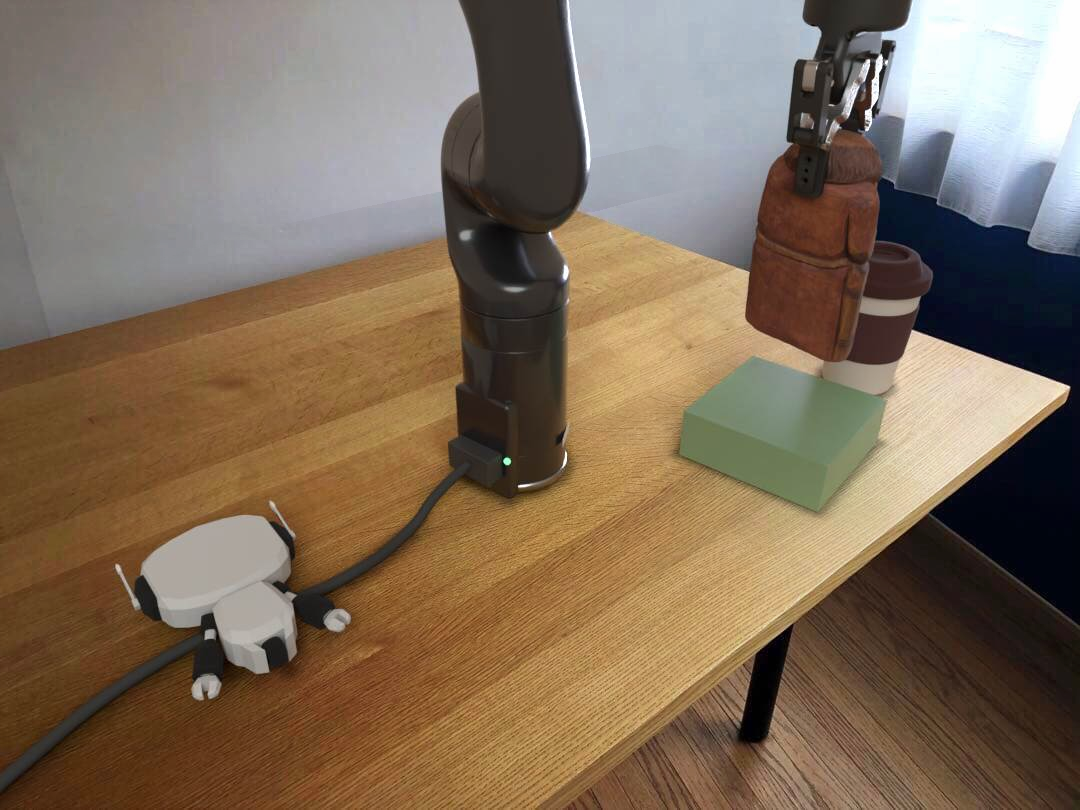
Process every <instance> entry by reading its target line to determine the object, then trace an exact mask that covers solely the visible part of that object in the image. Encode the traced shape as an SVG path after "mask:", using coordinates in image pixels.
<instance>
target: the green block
mask: <svg viewBox="0 0 1080 810" xmlns="http://www.w3.org/2000/svg"><path fill="white" fill-rule="evenodd" d="M887 403H888V399H887V398H885V397H881V396H878V395H872V394H869V393H866V392H863V391H860V390H857V389H854V388H851V387H847V386H844V385H841V384H838V383H835V382H832V381H829V380H826V379H824V378H823V377H820V376H817V375H814V374H811V373H807V372H804V371H802V370H798V369H795V368H792V367H790V366H787V365H784V364H780V363H777V362H774V361H772V360H768V359H765V358H762V357H759V356H756V355H752V356H750V357H749V358H748V359H747V360H746V361H744V362H743V363H742V364H741V365H739V366H738V367H737V368H735V369H734V370H733V371H732V372H731V373H729V374H727V376H726V377H724V378H723V379H722V380H721V381H719V382H718V383H717V384H715V385H714V386H712V388H710V389H709V390H708V391H707V392H705V393H704V394H702V395H701V397H699V398H698V399H697V400H695V401H694V402H693V403H692V404H690V405H689V406H688V407H686V408H684V409H683V414H682V423H681V432H680V442H679V451H678V455H679V456H681V457H684V458H686V459H688V460H691V461H693V462H695V463H697V464H701V465H703V466H705V467H707V468H710V469H712V470H715V471H717V472H720V473H722V474H724V475H727V476H729V477H732V478H734V479H736V480H739V481H741V482H743V483H746V484H748V485H750V486H753V487H755V488H758V489H761V490H762V491H765V492H768V493H769V494H772V495H775V496H777V497H779V498H782V499H785V500H786V501H789V502H791V503H794V504H797V505H799V506H801V507H803V508H806V509H809V510H811V511H813V512H815V513H819V512H820V511H821V509H822V508H823V507H824V506H825V505H826V503H827V502H828V501H829V500H830V498H832V496H833V495H834V494H835V493H836V492H837V490H838V489H839V488H840V487H841V486H842V484H843V483H844V482H845V481H846V480H847V479H848V477H849V476H850V475H851V474H852V473H853V472H854V470H855V469H856V468H857V467H858V466H859V465H860V463H861V462H862V461H863V459H864V458H865V457H866V456H867V455H868V454H869V452H870V451H872V448H873V447H875V445H876V444H877V442H878V439H879V434H880V431H881V427H882V422H883V419H884V415H885V411H886V408H887Z"/></svg>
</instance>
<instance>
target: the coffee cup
mask: <svg viewBox="0 0 1080 810" xmlns="http://www.w3.org/2000/svg"><path fill="white" fill-rule="evenodd" d="M868 262H869V272H868V276H867V280H866V284H865V289H864V292H863V297H862V302H861V307H860V311H859V316H858V322H857V327H856V331H855V336H854V341H853V345H852V348H851V351H850V353H849V355H848V357H847V358H846V359H845V360H844V361H842V362H827V361H824V360H822V361H823V362H822V369H821V370H822V372H821V373H822V378H823V379H826V380H829V381H832V382H835V383H838V384H841V385H844V386H847V387H851V388H854V389H857V390H860V391H863V392H866V393H869V394H872V395H875V396H878V395H880V394H883V393H885V392H887V391H888V390H889V389H890V387H891V386H892V384H893V382H894V381H893V380H894V377H895V374H896V372H897V369H898V366H899V364H900V360H901V359H902V358H903V356H904V354H905V353H906V350H907V346H908V342H909V340H910V337H911V334H912V331H913V329H914V326H915V323H916V319H917V317H918V314H919V310H920V300H921V297H922V296H924V295H925V294H927V293H928V292H929V291H930V290H931V285H932V281H933V278H934V273H933V270H932V269H931V268H930V267H929V266H928V265H927V264H925V263H924V262H923V261H922V260H921V256H920V254H919V253H918V252H917V251H915V250H914V249H913V248H912V247H911V248H910V247H909V246H906V245H904V244H899V243H896V242H891V241H884V240H875V244H874V248H873V252H872V255H871V258H870V260H869V261H868Z"/></svg>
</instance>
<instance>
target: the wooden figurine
mask: <svg viewBox="0 0 1080 810" xmlns="http://www.w3.org/2000/svg"><path fill="white" fill-rule="evenodd" d="M799 147H800V146H796V144H795V143H791V144H790V145H789V146H788V148H787V149H786V150H785V151H784V152H783V154H781V155H780V156H778V157H777V158H776V159H775V160H774V162H773V163H772V164H771V166H770V167H769V169H768V173H767V176H766V180H765V183H764V187H763V190H762V194H761V197H760V203H759V207H758V212H757V218H756V222H757V225H756V226H755V240H754V242H753V244H752V250H751V251H752V252H751V261H750V268H749V273H748V282H747V283H748V284H747V294H746V302H745V314H744V318H745V321H746V322H747V323H748V325H750V326H752V327H753V329H755V330H756V331H758V332H760V333H762V334H764V335H766V336H768V337H770V338H773V339H776V340H779V341H781V342H782V343H785V344H788V345H790V346H792V347H794V348H796V349H798V350H800V351H802V352H803V353H807V354H808V355H810V356H812V357H815V358H817V359H819V360H822V361H827V362H842V361H844V360H845V359H846V358H847V357H848V355H849V353H850V351H851V348H852V345H853V341H854V336H855V331H856V327H857V322H858V316H859V311H860V307H861V302H862V297H863V292H864V289H865V284H866V280H867V276H868V272H869V262H868V261H869V260H870V258H871V255H872V252H873V248H874V244H875V241H876V237H877V233H878V229H877V228H878V227H877V226H878V221H879V220H878V219H879V213H880V195H879V192H878V183H879V182H880V181H881V179H882V177H883V167H884V166H883V163H882V159H881V157H880V154H879V152H878V150H877V147H876V146H875V145H874V143H873V142H872V141H871V140H869V139H868V138H867V137H865V135H864V136H862V135H860V134H858V133H855V132H851V131H847V130H842V129H838V128H837V131H836V134H835V137H834V139H833V143H832V146H831V148H830V149H829V150H831V151H830V157H829V162H828V168H827V173H826V179H825V184H824V190H823V194H822V195H821V196H820V197H818V198H816V199H810V198H805V197H800V196H797V195H795V194H794V192H793V185H794V178H795V172H796V166H797V160H798V154H799Z"/></svg>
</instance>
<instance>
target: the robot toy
mask: <svg viewBox="0 0 1080 810" xmlns="http://www.w3.org/2000/svg"><path fill="white" fill-rule="evenodd" d="M268 502H269V507H270V509H271V510H272V511H273V513H275V515H276V517H277V518H278V520H279V521H280V523H281V524H279V523H278V522H276V521H275V520H270V521H268V520H267V519H266V518H265V517H264V516H261V515H252V514H241V515H234V516H230V517H229V516H228V517H223V518H221V519H217V520H214V521H210V522H207V523H204V524H201V525H198V526H194V527H192V528H191V529H189V530H187V531H185V532H183V533H182V534H179V535H178V536H176V537H174V538H172V539H170V540H169V541H167V542H166V543H164V544H163V545H161V546H159V547H158V548H156V549H155V550H154V551H153V552H151V553H150V554H149V555H148V556H147V557H146V559H145V560H144V561H142V563H141V568H140V574H139V576H138V577H137V578H136V579H135V580H134V590H133V591H132V589H131V588H130V586H129V583H128V581H127V580H126V577H125V575H124V573H123V570H122V567H121V565H120V564H118V563H115V570H116V573H117V574H118V575H119V577H120V579H121V581H122V583H123V585H124V587H125V589H126V591H127V593H128V595H129V597H130V599H131V600H130V601H131V604H132V607H133V608H134V610H135V612H136V611H139V610H141V612H142V614H143V615H145V616H147V617H148V618H149V619H150V620H153V622H161V621H162V622H164V623H165V624H167V625H168V626H169V627H172V628H179V629H181V628H182V629H183V628H195V627H199V633H200V634H201V635H202V637H203V638H205V640H204V641H203V642H202V643H201V644H200V645H199V646H198V647H197V648H196V649H194V655H193V663H192V664H193V666H192V676H191V679H192V681H193V682H194V683H193V684H192V686H191V688H190V690H191V694H192V697H193V698H194V699H195V700H197V701H204V700H205V698H204V694H205V693H206V692H207V697H208V700H211V699H214V698H217V697H218V695H219V694H220V691H221V688H222V685H223V684H222V682H223V674H224V672H223V671H224V658H225V657H226V659H227V661H229V663H231V664H233V665H235V666H237V667H243V668H245V669H248V670H249V671H251V672H252V673H254V674H255V675H260V674H268V673H270V669H269V668H271V669H273V670H277V669H280V668H282V667H284V666H285V665H286V664H287V663H288V662H289V663H290V662H291V661H292V659H293V658H294V657H295V656H296V655H297V654H298V650H297V644H296V641H297V638H298V636H299V634H298V632H299V631H298V627H297V626H298V625H297V621H296V615H297V616H298V617H299V619H300V620H301V622H303V623H305V624H307V625H309V626H311V627H313V628H316V629H318V630H320V631H323V630H324V629H325V628H327V630H329V631H330V632H335V633H341V632H342V631H344V630H345V629H346V626H347V625H349V624H350V623H351V620H352V616H351V614H350V613H349V612H347V611H346V610H345V609H344V608H336V605H335V603H334V600H332V599H329V598H327V597H325V596H324V595H321V596H320V595H318V594H316V593H307V594H301V595H295V594H293V592H291V587H290V585H288V584H286V583H285V582H286V581H287V580H288V578H289V577H290V575H291V574H292V561H293V560H295V558H296V549H295V542H294V541H296V539H297V536H296V534H295V532H294V531H293V530H292V529H290V527H289V526H288V524H287V522H286V521H285V519H284V518H283V516H282V515H281V513H280V512H279V509H277V506H276V504H275V503H274V501H272V500H268ZM295 613H296V615H295ZM218 636H219V637H218ZM216 637H218V639H219V641H220V644H221V647H220V645H219V644H218V642H217V638H216ZM224 655H225V657H224Z"/></svg>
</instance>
